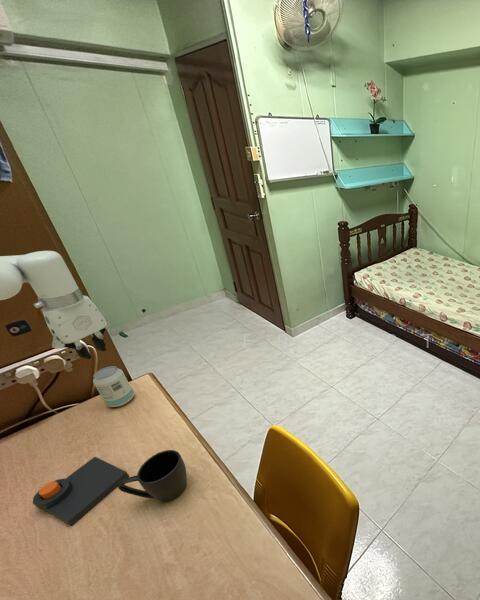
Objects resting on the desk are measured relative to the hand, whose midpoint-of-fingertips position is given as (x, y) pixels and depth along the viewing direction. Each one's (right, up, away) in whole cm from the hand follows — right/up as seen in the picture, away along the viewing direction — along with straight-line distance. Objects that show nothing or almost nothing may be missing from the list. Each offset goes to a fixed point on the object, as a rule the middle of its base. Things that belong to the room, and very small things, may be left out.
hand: (94, 353), depth 90 cm
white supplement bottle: (0, -17, +9) cm, 19 cm away
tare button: (+9, -29, -19) cm, 35 cm away
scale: (+13, -31, -15) cm, 37 cm away
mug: (+32, -31, -15) cm, 47 cm away
